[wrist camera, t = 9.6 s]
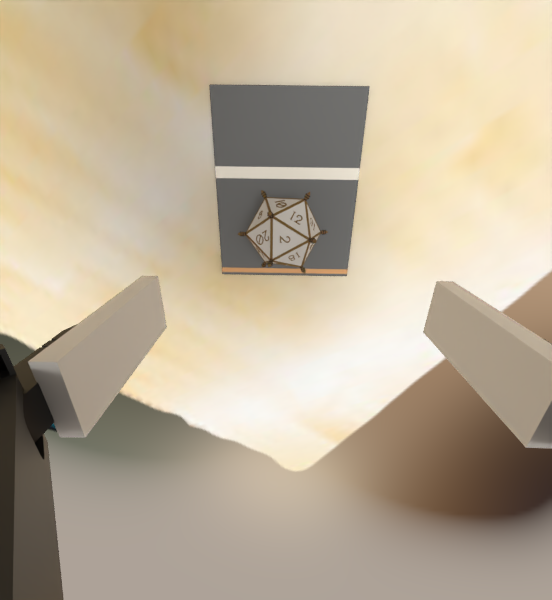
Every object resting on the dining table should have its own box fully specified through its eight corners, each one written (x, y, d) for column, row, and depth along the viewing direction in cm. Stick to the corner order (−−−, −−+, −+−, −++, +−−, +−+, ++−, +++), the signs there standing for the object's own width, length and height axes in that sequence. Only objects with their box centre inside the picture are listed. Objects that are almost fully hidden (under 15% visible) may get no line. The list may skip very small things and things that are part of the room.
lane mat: (210, 85, 29) (209, 84, 28) (368, 87, 29) (369, 86, 28) (223, 273, 37) (222, 274, 36) (345, 275, 37) (346, 276, 36)
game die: (281, 236, 38) (254, 295, 33) (248, 181, 33) (210, 242, 28) (345, 225, 33) (325, 292, 28) (319, 157, 28) (288, 226, 22)
